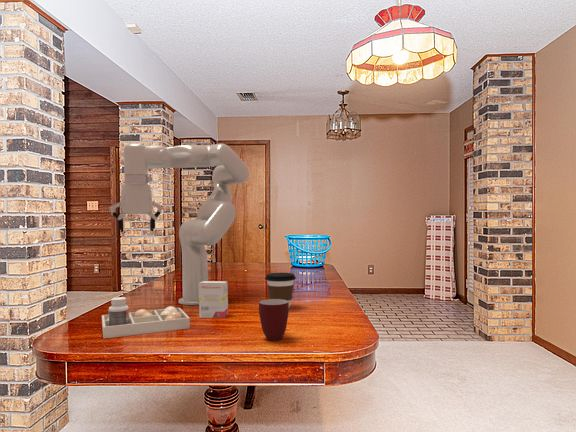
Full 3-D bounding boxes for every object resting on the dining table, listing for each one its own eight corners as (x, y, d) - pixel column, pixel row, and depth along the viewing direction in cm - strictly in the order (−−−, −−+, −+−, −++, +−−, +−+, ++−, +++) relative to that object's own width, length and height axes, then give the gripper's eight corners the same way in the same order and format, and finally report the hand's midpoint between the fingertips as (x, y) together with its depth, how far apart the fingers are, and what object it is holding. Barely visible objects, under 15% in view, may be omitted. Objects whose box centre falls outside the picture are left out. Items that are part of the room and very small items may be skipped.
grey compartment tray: (179, 318, 144) (179, 307, 144) (189, 330, 130) (189, 317, 130) (101, 327, 135) (101, 315, 134) (103, 340, 120) (103, 327, 120)
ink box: (228, 316, 147) (228, 280, 146) (224, 319, 142) (224, 282, 142) (203, 315, 148) (203, 280, 148) (198, 319, 143) (198, 282, 143)
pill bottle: (131, 333, 125) (130, 298, 125) (111, 336, 122) (110, 301, 122) (126, 329, 129) (125, 295, 129) (107, 332, 126) (106, 297, 126)
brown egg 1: (130, 324, 135) (130, 309, 135) (141, 320, 139) (141, 307, 139) (146, 326, 132) (146, 312, 132) (157, 323, 136) (157, 309, 136)
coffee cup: (302, 307, 158) (302, 274, 158) (281, 313, 150) (280, 277, 150) (280, 303, 165) (279, 271, 165) (259, 308, 157) (258, 274, 157)
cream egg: (169, 318, 142) (168, 304, 142) (180, 319, 141) (180, 305, 141) (156, 323, 136) (155, 309, 136) (168, 324, 135) (167, 310, 135)
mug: (260, 332, 126) (260, 297, 126) (289, 332, 126) (288, 297, 126) (258, 343, 116) (257, 305, 116) (289, 343, 116) (288, 304, 116)
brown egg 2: (171, 323, 135) (171, 309, 135) (184, 324, 134) (184, 309, 134) (160, 329, 129) (160, 314, 129) (173, 330, 128) (173, 315, 128)
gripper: (160, 182, 157) (161, 230, 157) (108, 181, 150) (109, 231, 150) (164, 180, 150) (165, 231, 150) (109, 179, 143) (110, 232, 143)
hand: (137, 231), depth 150 cm, fingers open, 9 cm apart
